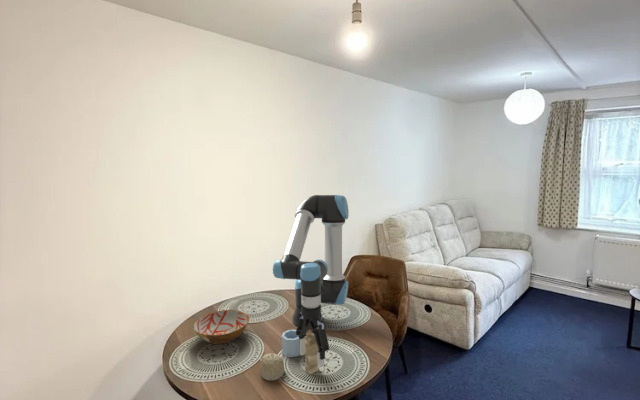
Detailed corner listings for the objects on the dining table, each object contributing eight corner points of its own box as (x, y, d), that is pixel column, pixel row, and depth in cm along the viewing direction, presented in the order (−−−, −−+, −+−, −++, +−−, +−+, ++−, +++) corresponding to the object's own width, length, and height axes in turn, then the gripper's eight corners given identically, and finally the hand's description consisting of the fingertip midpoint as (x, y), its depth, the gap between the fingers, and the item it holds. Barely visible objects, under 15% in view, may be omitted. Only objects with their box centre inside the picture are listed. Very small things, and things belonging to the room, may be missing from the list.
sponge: (269, 375, 131) (254, 356, 130) (289, 361, 131) (274, 342, 130) (268, 391, 122) (251, 371, 120) (288, 375, 122) (272, 355, 121)
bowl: (260, 330, 159) (260, 315, 158) (225, 358, 136) (224, 340, 135) (220, 321, 169) (219, 306, 168) (181, 345, 147) (180, 328, 146)
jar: (278, 350, 141) (277, 334, 140) (295, 343, 147) (294, 327, 146) (290, 359, 134) (289, 342, 134) (307, 351, 140) (306, 335, 139)
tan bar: (305, 371, 127) (304, 336, 125) (314, 366, 130) (313, 332, 128) (310, 374, 124) (309, 339, 123) (319, 369, 127) (318, 335, 126)
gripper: (286, 298, 131) (287, 351, 133) (322, 317, 113) (323, 378, 115) (301, 293, 135) (302, 344, 138) (338, 311, 118) (339, 369, 120)
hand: (312, 360), depth 127 cm, fingers open, 10 cm apart
